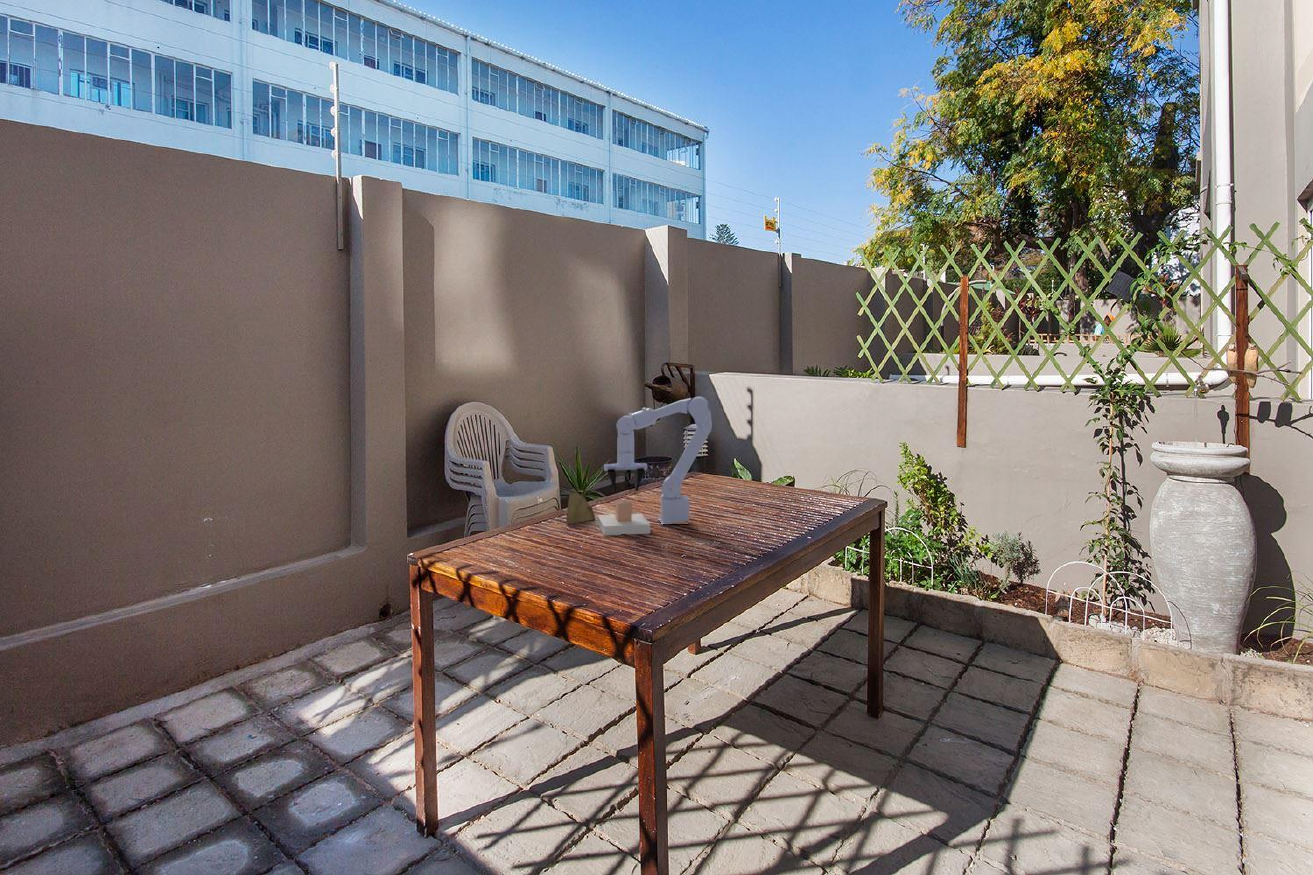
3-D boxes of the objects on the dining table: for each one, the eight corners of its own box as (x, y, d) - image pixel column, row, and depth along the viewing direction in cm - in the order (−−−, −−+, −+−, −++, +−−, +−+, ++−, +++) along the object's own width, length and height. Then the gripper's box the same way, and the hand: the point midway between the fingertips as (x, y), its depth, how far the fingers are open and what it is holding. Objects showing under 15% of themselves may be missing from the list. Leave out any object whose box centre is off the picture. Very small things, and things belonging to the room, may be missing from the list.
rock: (596, 510, 256) (568, 506, 255) (599, 494, 250) (570, 490, 249) (593, 534, 248) (564, 530, 247) (595, 518, 242) (565, 514, 241)
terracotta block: (628, 517, 242) (628, 500, 241) (631, 521, 237) (631, 502, 237) (615, 518, 241) (615, 500, 240) (617, 521, 236) (618, 503, 236)
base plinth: (641, 522, 248) (641, 513, 248) (650, 533, 234) (650, 524, 234) (597, 523, 245) (597, 515, 245) (603, 535, 231) (603, 526, 230)
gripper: (606, 453, 242) (606, 493, 244) (649, 452, 245) (648, 492, 247) (603, 450, 249) (603, 489, 250) (645, 449, 252) (644, 488, 253)
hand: (625, 490), depth 249 cm, fingers open, 7 cm apart
